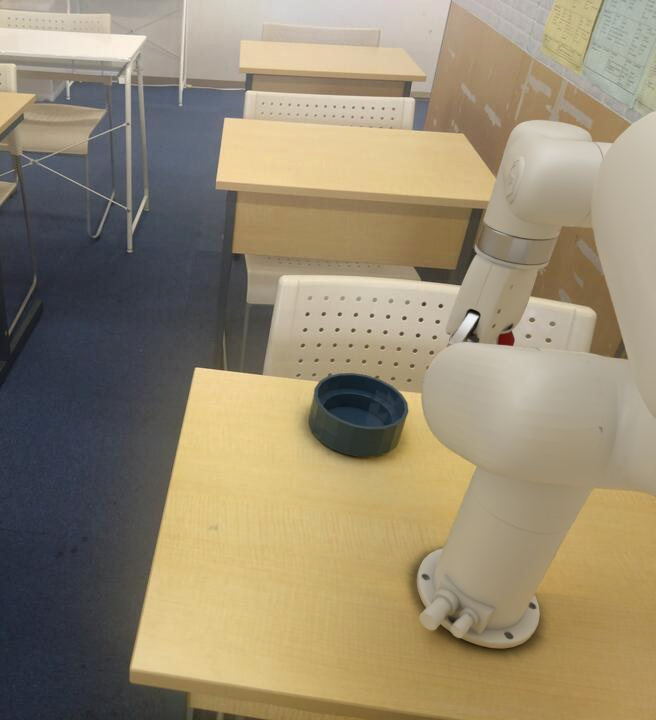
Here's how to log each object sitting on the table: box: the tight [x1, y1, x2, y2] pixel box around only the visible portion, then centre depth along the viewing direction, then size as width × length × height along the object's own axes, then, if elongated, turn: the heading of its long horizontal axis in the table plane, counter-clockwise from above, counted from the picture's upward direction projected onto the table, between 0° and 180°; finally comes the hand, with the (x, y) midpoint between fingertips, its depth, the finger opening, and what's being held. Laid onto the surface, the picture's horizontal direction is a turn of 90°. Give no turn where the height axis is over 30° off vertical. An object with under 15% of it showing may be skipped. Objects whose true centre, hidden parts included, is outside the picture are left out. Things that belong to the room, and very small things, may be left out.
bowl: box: [308, 372, 409, 458], centre depth 96 cm, size 13×13×6 cm
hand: (468, 378), depth 82 cm, fingers closed on soda can, 6 cm apart
